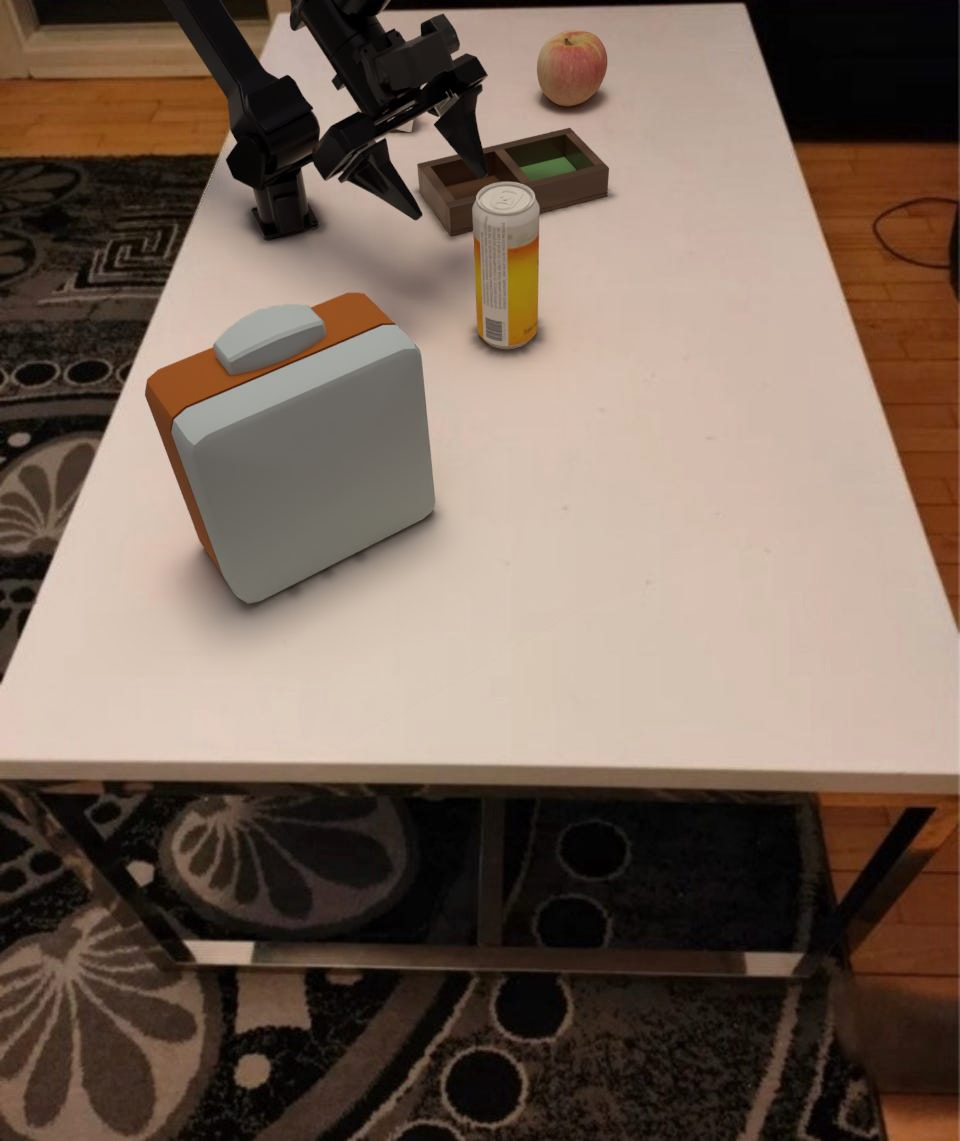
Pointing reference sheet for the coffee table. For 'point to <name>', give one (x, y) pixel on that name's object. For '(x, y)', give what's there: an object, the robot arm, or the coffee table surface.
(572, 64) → the apple
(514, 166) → the tray
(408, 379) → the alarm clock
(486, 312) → the beer can
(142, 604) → the coffee table surface
